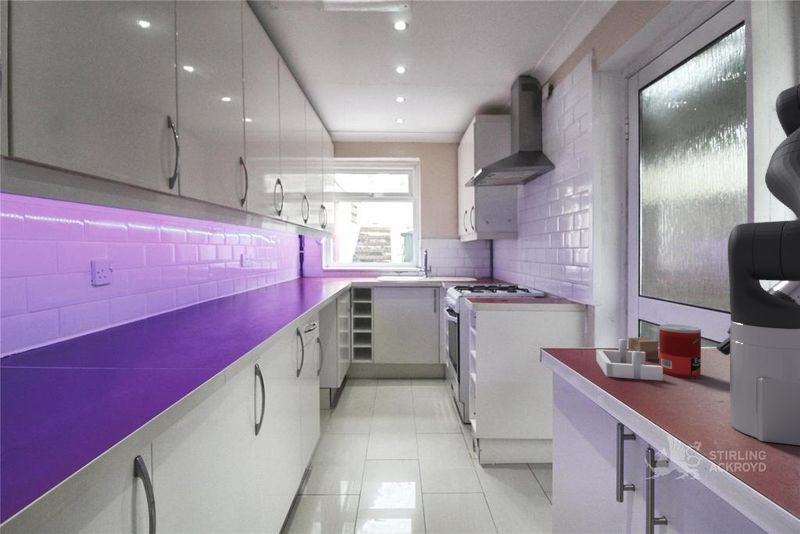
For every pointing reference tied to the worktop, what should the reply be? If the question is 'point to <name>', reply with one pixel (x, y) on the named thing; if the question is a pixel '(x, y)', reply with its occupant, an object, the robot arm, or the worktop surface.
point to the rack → (627, 370)
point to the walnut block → (644, 346)
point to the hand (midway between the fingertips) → (721, 351)
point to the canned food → (680, 350)
